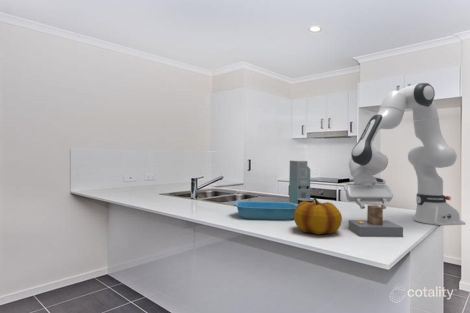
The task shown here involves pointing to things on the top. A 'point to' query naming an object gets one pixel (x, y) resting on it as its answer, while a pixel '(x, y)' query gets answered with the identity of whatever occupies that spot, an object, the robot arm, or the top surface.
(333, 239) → the top surface
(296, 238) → the top surface
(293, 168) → the device
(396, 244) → the top surface
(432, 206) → the robot arm
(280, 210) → the casserole dish
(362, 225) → the socket block
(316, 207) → the decorative pumpkin
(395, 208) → the top surface
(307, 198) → the coffee mug
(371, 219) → the walnut plug
